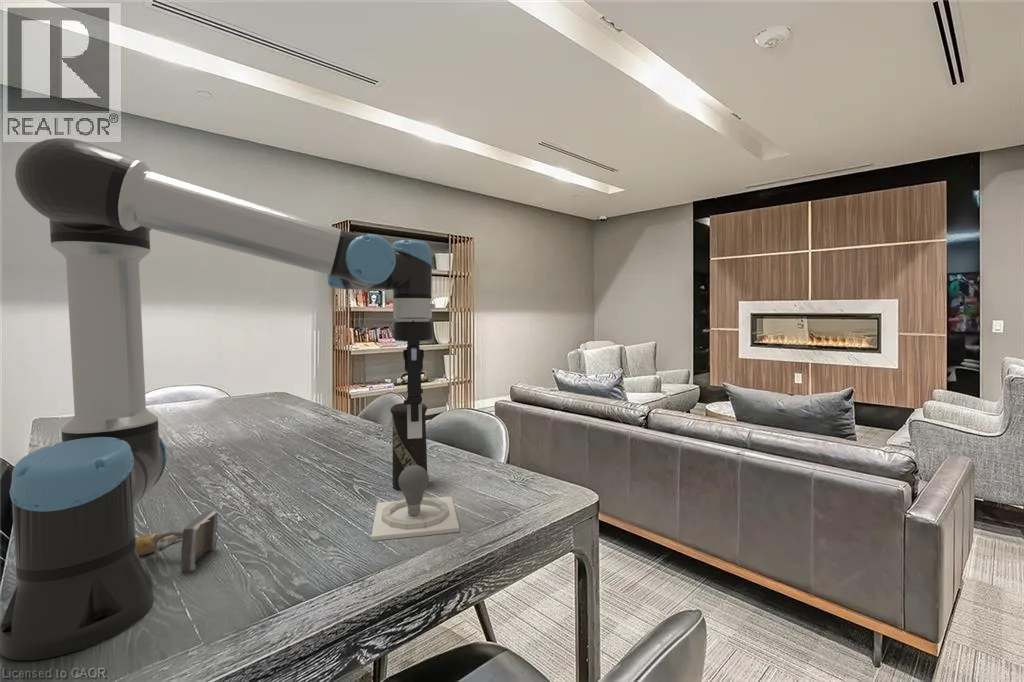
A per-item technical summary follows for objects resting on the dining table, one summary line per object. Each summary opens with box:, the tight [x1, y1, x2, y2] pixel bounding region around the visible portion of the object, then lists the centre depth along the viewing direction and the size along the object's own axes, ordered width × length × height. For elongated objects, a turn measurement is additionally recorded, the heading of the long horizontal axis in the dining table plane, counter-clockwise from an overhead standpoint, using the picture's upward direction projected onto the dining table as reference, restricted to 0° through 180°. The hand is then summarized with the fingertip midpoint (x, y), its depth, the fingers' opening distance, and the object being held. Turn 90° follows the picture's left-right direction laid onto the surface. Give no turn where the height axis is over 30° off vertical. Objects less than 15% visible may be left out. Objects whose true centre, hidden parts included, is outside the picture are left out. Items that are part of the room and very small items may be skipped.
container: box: [390, 402, 428, 491], centre depth 113 cm, size 9×9×20 cm
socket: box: [370, 496, 460, 542], centre depth 94 cm, size 16×16×2 cm
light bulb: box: [398, 465, 430, 516], centre depth 94 cm, size 6×6×10 cm
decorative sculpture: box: [135, 510, 219, 572], centre depth 81 cm, size 16×10×7 cm, turn 75°
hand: (414, 431), depth 94 cm, fingers open, 10 cm apart
